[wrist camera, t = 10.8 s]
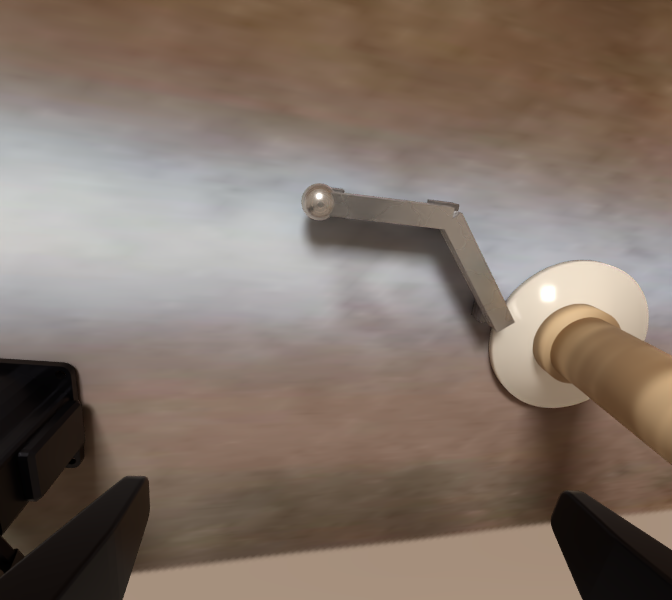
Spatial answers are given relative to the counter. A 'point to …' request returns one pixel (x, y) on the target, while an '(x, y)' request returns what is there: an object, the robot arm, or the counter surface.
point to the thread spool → (610, 370)
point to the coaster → (541, 301)
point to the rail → (433, 214)
